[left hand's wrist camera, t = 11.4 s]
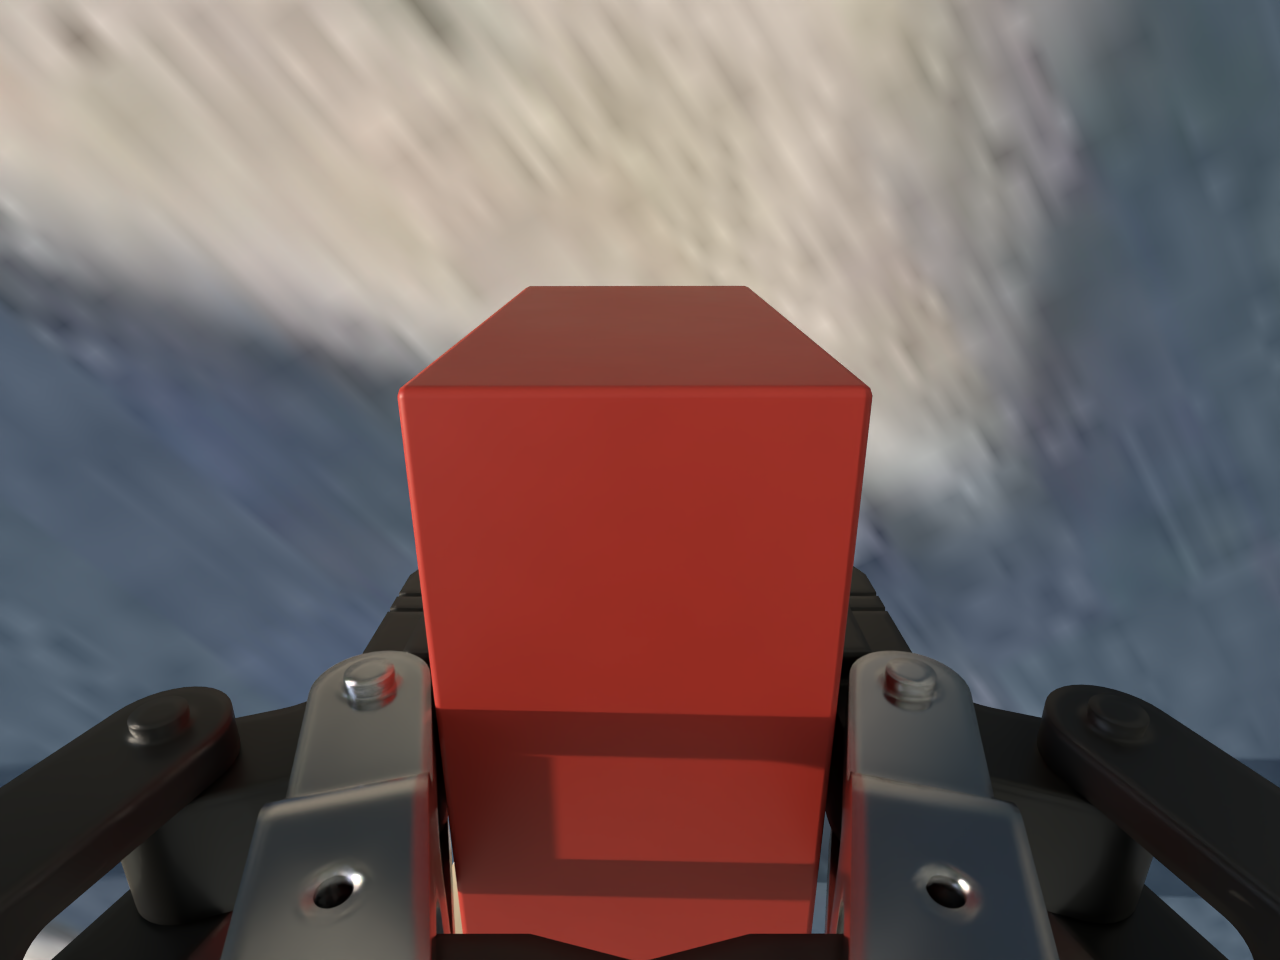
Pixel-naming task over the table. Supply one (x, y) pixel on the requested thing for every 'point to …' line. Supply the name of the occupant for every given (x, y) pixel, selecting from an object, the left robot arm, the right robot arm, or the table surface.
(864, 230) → the table surface
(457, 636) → the brick
